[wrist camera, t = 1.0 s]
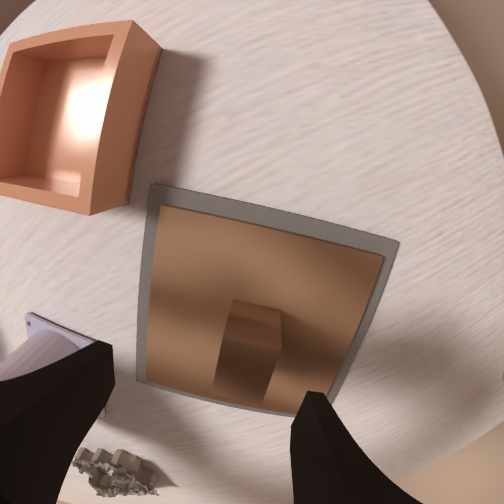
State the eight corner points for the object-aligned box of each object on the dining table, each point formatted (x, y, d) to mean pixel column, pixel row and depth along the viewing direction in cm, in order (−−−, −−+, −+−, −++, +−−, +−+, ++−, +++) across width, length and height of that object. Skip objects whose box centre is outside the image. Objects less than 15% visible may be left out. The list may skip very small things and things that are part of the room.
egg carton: (105, 475, 28) (95, 496, 24) (71, 441, 26) (58, 462, 22) (168, 482, 26) (160, 507, 22) (133, 446, 25) (121, 474, 21)
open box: (128, 203, 17) (89, 216, 13) (23, 183, 17) (-18, 190, 13) (162, 48, 14) (132, 20, 10) (48, 56, 14) (10, 43, 10)
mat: (321, 417, 21) (321, 420, 21) (138, 377, 21) (136, 380, 21) (396, 240, 17) (399, 242, 16) (153, 183, 17) (151, 183, 16)
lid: (314, 411, 20) (320, 456, 16) (148, 375, 20) (126, 416, 16) (380, 254, 17) (411, 282, 12) (164, 203, 17) (129, 217, 12)
